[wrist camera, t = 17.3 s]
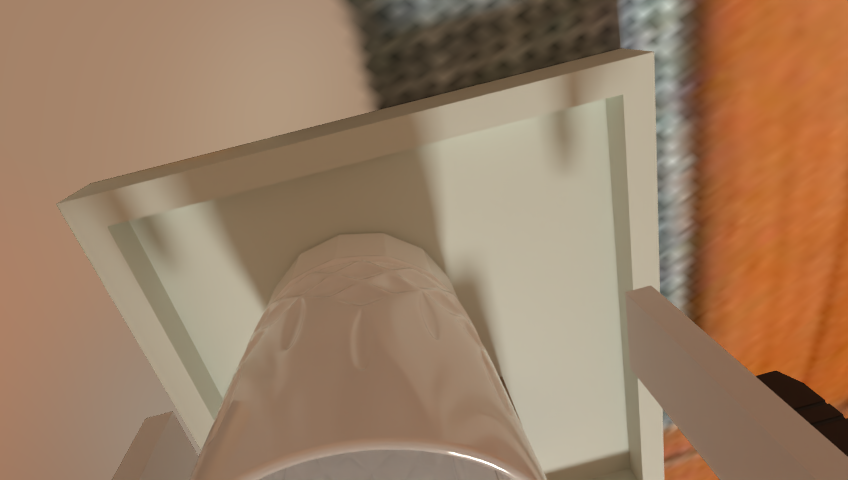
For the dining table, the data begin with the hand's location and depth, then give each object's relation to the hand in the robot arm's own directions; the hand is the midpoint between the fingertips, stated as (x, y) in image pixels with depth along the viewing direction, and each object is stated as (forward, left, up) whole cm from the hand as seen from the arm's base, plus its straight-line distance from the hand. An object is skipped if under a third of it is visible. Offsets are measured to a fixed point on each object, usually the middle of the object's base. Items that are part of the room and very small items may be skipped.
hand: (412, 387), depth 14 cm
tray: (-3, 0, -5) cm, 6 cm away
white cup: (0, +1, -5) cm, 5 cm away
